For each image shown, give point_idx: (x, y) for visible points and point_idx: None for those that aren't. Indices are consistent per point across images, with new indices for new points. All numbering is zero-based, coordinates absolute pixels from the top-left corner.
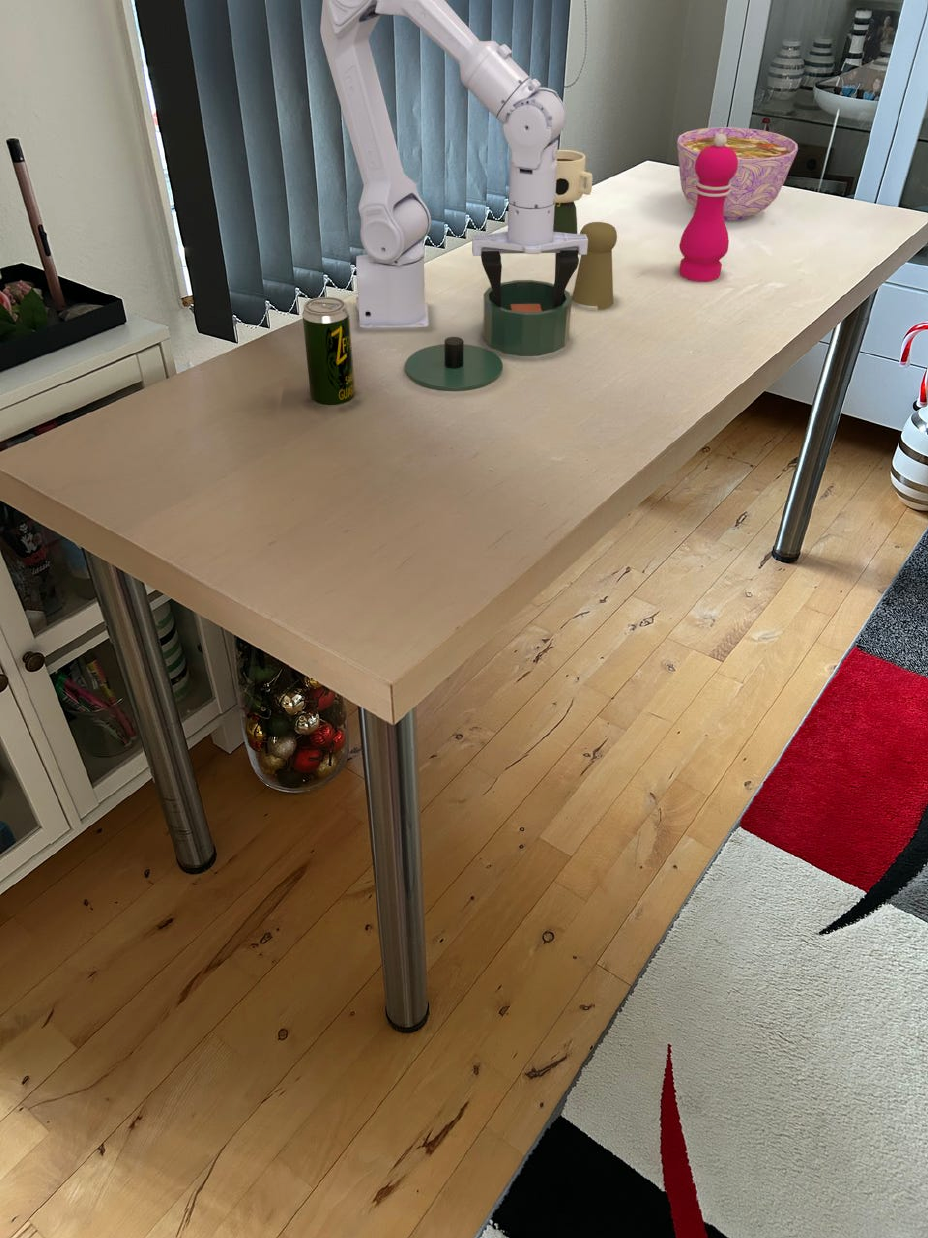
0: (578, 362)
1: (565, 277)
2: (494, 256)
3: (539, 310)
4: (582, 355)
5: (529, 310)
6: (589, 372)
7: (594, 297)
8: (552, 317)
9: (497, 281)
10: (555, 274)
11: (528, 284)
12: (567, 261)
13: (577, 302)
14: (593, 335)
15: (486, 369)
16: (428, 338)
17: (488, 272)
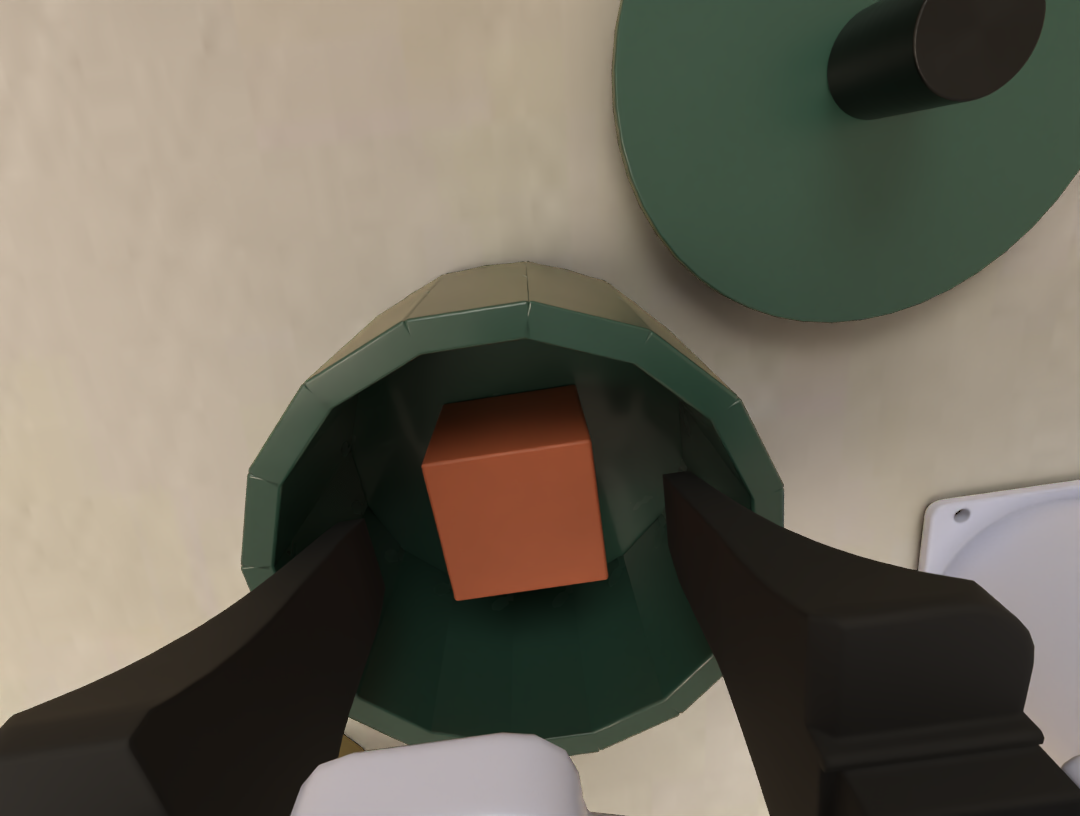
0: (253, 265)
1: (196, 646)
2: (898, 766)
3: (448, 523)
4: (249, 341)
5: (503, 517)
6: (176, 156)
7: None
8: (335, 357)
9: (763, 549)
10: (327, 736)
11: (525, 727)
12: (52, 755)
13: (345, 753)
14: (242, 531)
15: (702, 12)
16: (930, 425)
17: (898, 572)
